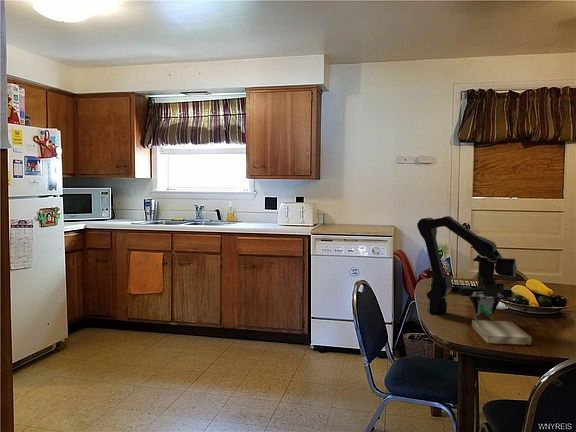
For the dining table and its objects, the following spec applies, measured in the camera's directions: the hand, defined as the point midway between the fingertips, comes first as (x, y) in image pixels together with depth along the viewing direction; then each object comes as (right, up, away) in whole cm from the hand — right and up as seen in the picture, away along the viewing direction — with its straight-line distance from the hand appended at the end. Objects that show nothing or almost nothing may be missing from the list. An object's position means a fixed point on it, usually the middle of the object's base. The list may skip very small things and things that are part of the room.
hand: (484, 313), depth 184 cm
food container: (0, -3, 0) cm, 3 cm away
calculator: (+16, -2, +24) cm, 29 cm away
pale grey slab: (-1, -5, -17) cm, 17 cm away
